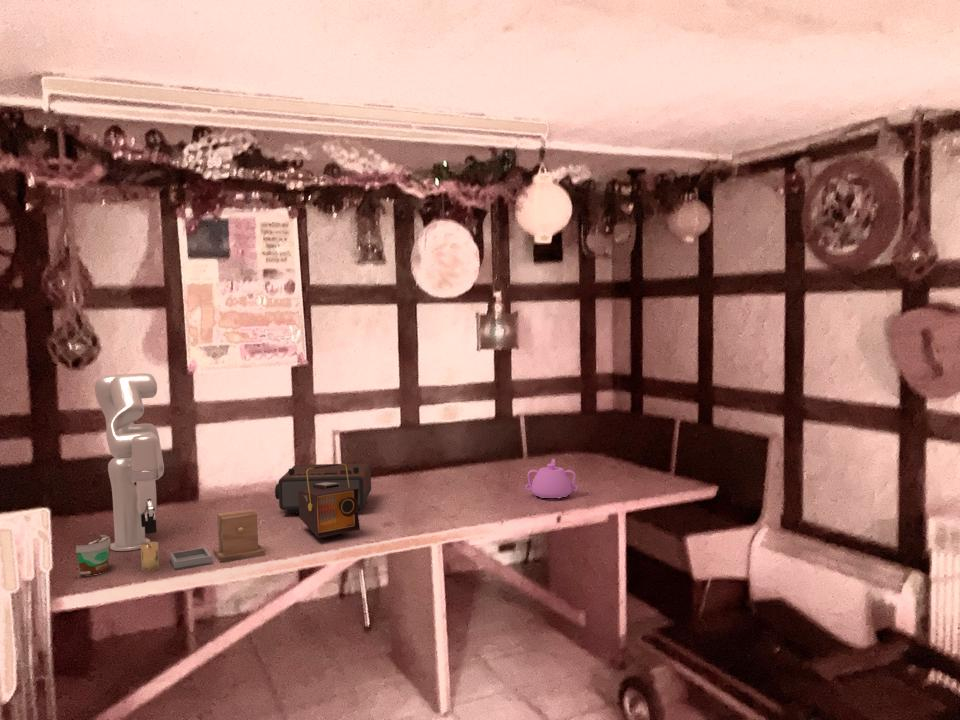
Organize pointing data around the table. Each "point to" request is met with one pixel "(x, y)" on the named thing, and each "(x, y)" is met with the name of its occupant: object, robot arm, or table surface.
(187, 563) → the tray
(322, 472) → the radio receiver
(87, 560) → the food container
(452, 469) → the table surface
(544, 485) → the purple lidded pot
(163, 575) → the table surface
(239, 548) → the mounted unit
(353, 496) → the vintage portable radio
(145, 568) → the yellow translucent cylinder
